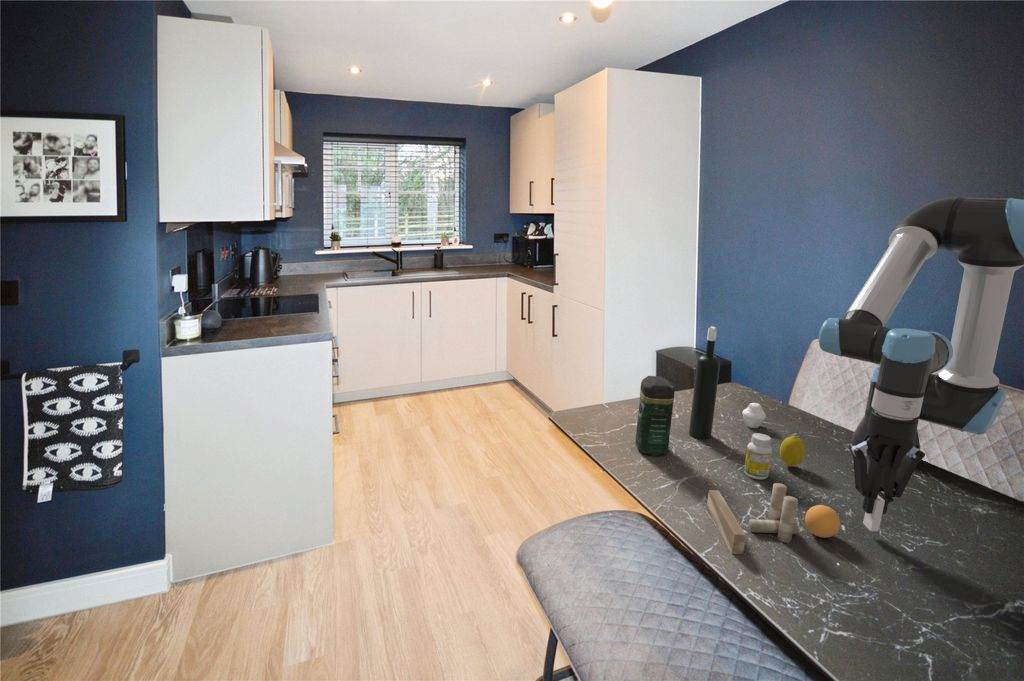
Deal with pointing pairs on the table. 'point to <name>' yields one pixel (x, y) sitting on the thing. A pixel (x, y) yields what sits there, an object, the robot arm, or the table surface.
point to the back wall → (726, 522)
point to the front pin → (767, 526)
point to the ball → (822, 521)
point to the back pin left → (787, 519)
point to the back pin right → (777, 501)
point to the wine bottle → (705, 390)
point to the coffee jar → (654, 415)
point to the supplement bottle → (758, 457)
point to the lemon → (792, 451)
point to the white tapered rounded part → (753, 415)
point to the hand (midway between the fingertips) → (870, 527)
